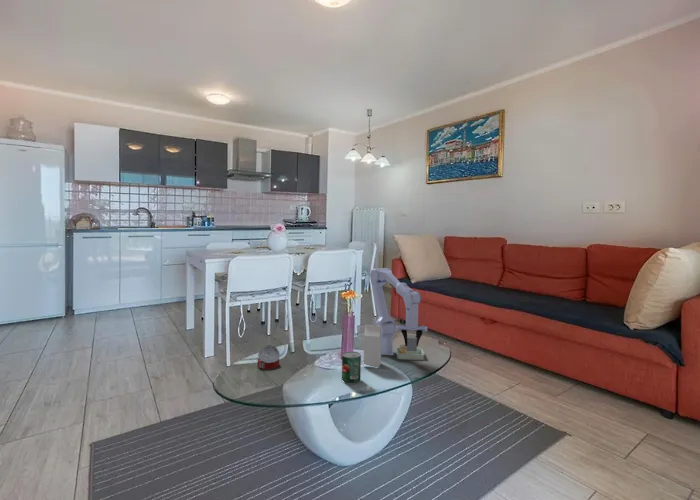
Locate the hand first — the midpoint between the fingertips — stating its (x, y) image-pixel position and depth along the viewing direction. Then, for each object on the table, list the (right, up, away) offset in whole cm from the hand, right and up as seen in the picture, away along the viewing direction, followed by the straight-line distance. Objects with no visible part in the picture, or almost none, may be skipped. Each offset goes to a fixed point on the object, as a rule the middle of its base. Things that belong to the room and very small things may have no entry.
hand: (411, 345), depth 175 cm
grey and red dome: (-67, -8, -5) cm, 68 cm away
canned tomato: (-29, -9, -22) cm, 37 cm away
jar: (-2, -8, +10) cm, 13 cm away
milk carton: (-19, -9, -4) cm, 21 cm away
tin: (0, -2, 0) cm, 2 cm away
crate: (+1, -8, +10) cm, 13 cm away
